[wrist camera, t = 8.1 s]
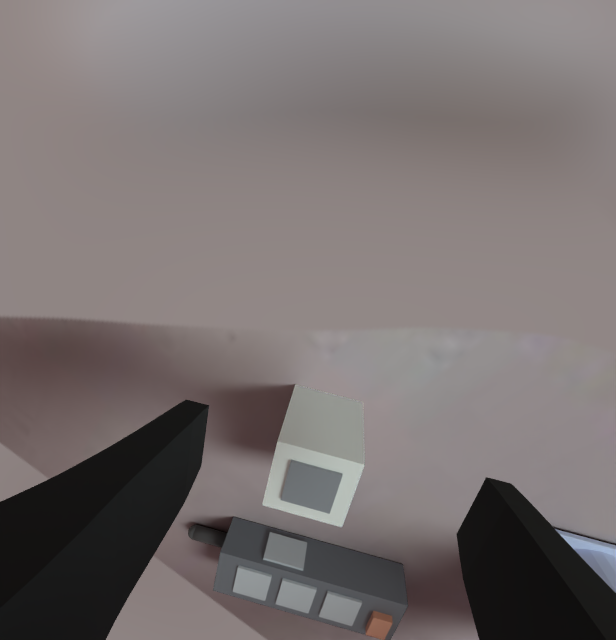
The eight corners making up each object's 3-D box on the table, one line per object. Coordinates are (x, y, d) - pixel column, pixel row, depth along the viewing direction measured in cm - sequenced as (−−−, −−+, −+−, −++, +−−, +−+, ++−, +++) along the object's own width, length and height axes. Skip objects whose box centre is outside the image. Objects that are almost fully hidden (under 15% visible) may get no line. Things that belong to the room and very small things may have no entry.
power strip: (403, 562, 24) (409, 611, 22) (386, 599, 26) (390, 649, 23) (194, 503, 25) (174, 543, 22) (189, 542, 26) (169, 584, 24)
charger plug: (363, 401, 21) (364, 467, 16) (344, 457, 22) (341, 532, 17) (295, 383, 21) (276, 443, 16) (281, 440, 22) (261, 509, 18)
